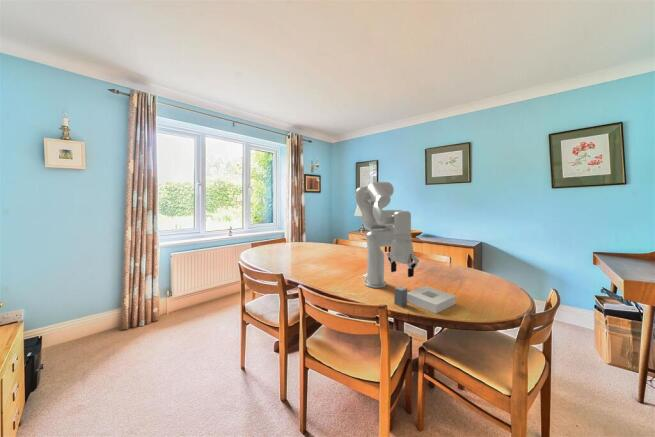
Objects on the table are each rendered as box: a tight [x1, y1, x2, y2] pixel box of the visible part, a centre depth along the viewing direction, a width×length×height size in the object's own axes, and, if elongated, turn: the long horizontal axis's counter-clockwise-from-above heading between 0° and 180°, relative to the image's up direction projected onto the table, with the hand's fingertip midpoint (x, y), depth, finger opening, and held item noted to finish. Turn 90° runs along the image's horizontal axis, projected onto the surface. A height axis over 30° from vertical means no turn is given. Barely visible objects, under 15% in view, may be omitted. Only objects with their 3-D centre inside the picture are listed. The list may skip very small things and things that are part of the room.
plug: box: [394, 285, 408, 308], centre depth 118 cm, size 4×4×8 cm
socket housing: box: [407, 285, 456, 314], centre depth 120 cm, size 16×16×4 cm
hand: (401, 274), depth 116 cm, fingers open, 9 cm apart
